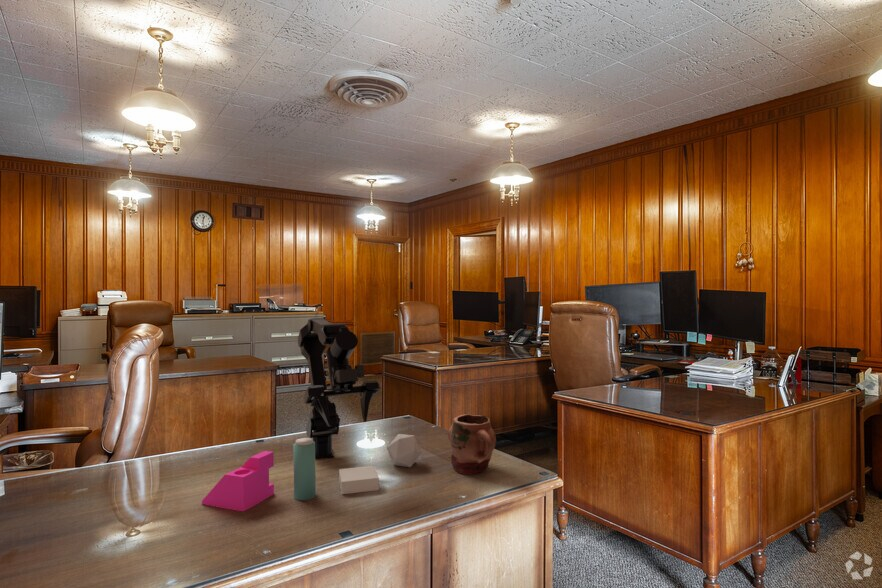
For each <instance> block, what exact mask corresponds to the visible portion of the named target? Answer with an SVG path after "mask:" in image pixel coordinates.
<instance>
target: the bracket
mask: <svg viewBox="0 0 882 588" xmlns="http://www.w3.org/2000/svg"><path fill="white" fill-rule="evenodd" d="M274 462H275V461H274V451H269V450H263V451H262V452H258V453H257V454H254V455H253V456H250V457H249V458H248V459H247V460H246V461H245V462H244V463H243V465H242V466H241V467H238V468H236V469H234V470H232V471H230V472H227V473H225V474H224V475H223V476H222V477H221V478H220V479H219V481H218V482H217V483H216V484H215V486H213V488H212V489H211V490H210V491H209V492H208V494H207V495H205V496H204V498H203V499H202V500H201V505H203V504H206V505H205V506H209V505H211V506H210V507H215V506H216V508H220V509H221V508H222V509H225V510H227V509H228V510H234V511H238V512H239V511H240V512H245V511H247V510H249V509H250V508H252V507H254V506H256V505H257V504H260V503H261V502H263V501H265V500H266V499H267V498H269V497H271V496H273V495H274V494H275V483H271V482H270V468H273V467H274V466H275V463H274Z"/></svg>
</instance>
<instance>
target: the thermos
mask: <svg viewBox="0 0 882 588" xmlns="http://www.w3.org/2000/svg"><path fill="white" fill-rule="evenodd" d="M292 445H293V448H292V450H293V499H295V500H296V501H308V500H311V499H315V497H316V494H317V492H316V491H317V490H316V487H317V486H316V484H317V483H316V459H315V442H314V441H313V439H312V438H309V437H301V438H298V439H296V440H295V443H293V444H292Z"/></svg>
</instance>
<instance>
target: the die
mask: <svg viewBox="0 0 882 588" xmlns="http://www.w3.org/2000/svg"><path fill="white" fill-rule="evenodd" d="M386 450H387V452H388V454H389V457H390V459H391V462H392V464H393V466H399V467H406V468H412V466H413V465H414V464H415V462H416V461H418V459H419V457H420V456H421V454H422V449H421V447H420V444H419V442H418V440H417V437H416V435H412V434H402V433H398V434H397V435H396V436H395V437H394V438H393V439H392V441H391V442H390V443H389V444H388V446H387V447H386Z"/></svg>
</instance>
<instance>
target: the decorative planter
mask: <svg viewBox="0 0 882 588" xmlns="http://www.w3.org/2000/svg"><path fill="white" fill-rule="evenodd" d="M496 437H497V436H496V432H495V431H494V429H493V428H492V424H491V420H490V418H489V417H488V416H487V415H476V414H475V415H474V414H466V413H465V414H461V415H457V416H456V417H454V418H453V420H452V424H451V426H450V428H449V430H448V431H447V438H448V440H449V442H450V445H451V457H450V459H451V460H450V461H451V465H452V468H453V470H455V472H457V473H460V474H464V475H470V474H478V473H481V472H484V471H486V470H487V469H488V468H489V464H490V461H491V458H492V456H493V451H494V449H495V448H496V444H497V438H496Z"/></svg>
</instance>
